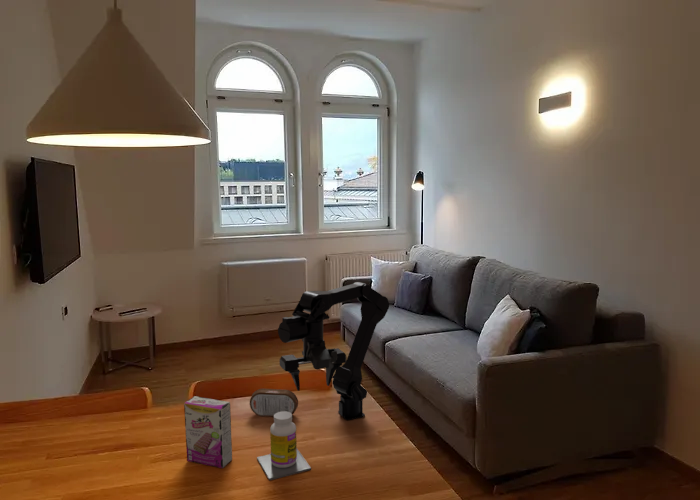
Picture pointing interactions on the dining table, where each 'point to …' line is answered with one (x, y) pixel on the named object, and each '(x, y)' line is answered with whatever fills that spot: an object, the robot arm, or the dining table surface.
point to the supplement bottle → (283, 440)
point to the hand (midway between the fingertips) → (313, 387)
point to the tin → (273, 402)
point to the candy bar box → (208, 431)
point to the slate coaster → (278, 472)
